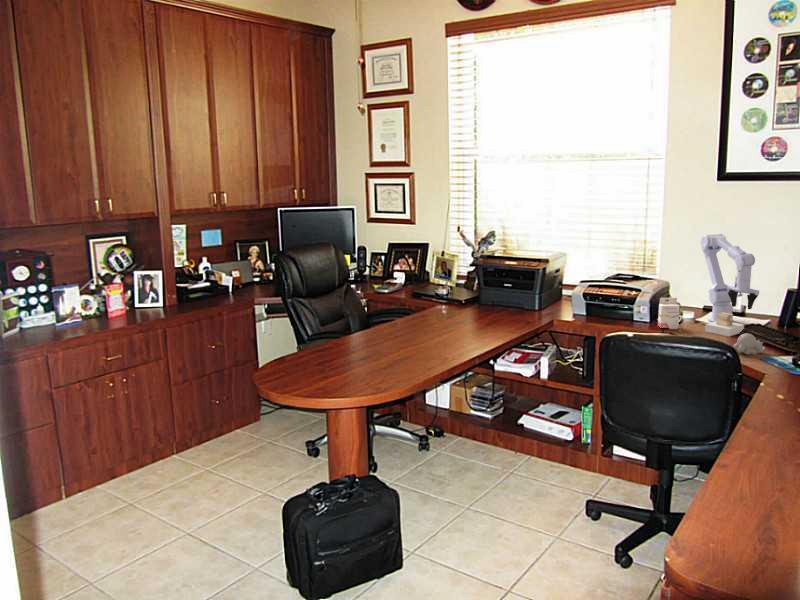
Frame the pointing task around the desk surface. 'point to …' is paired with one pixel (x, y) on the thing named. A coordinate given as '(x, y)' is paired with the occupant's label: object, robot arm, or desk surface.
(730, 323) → the beech block
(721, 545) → the desk surface
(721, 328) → the grey box
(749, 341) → the round bodied animal figurine
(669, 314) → the ink cartridge box
